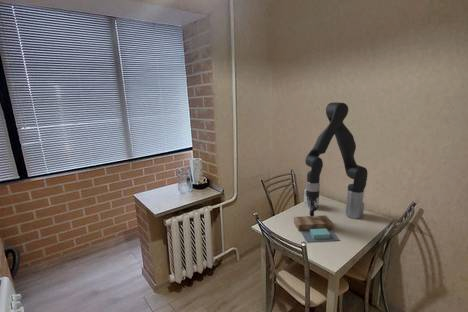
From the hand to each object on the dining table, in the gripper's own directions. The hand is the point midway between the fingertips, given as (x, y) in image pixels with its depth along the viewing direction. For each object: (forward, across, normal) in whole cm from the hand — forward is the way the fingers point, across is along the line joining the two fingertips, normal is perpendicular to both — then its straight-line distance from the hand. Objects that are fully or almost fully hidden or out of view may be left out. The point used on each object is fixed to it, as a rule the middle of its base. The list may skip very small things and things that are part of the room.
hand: (311, 215), depth 150 cm
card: (+2, -14, 0) cm, 14 cm away
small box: (+6, +23, -8) cm, 25 cm away
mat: (+5, -14, 0) cm, 15 cm away
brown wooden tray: (+5, -3, 0) cm, 6 cm away
